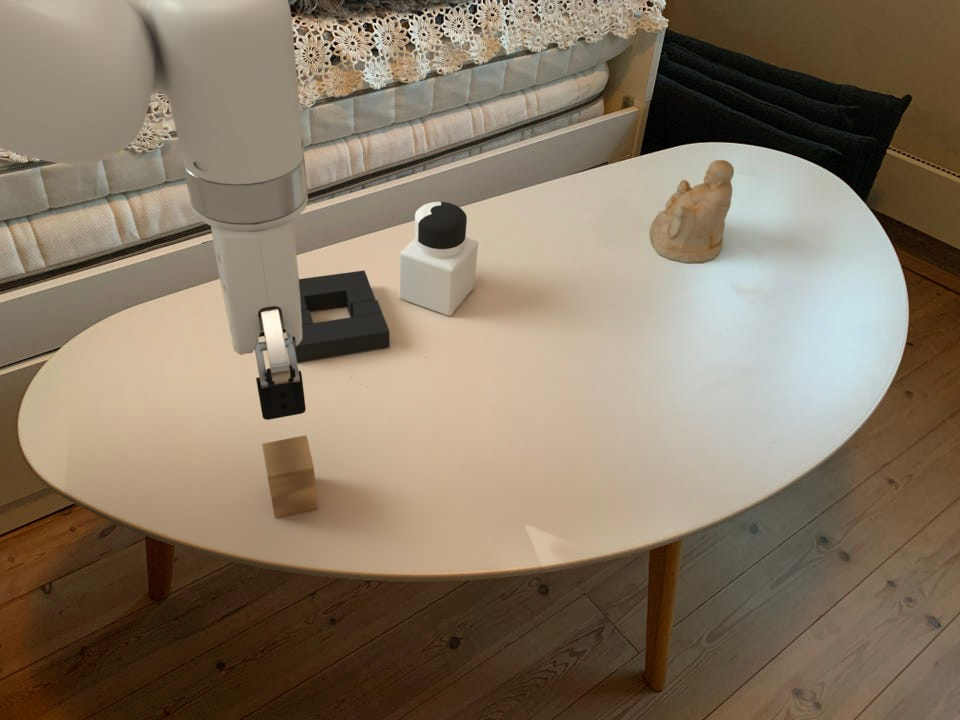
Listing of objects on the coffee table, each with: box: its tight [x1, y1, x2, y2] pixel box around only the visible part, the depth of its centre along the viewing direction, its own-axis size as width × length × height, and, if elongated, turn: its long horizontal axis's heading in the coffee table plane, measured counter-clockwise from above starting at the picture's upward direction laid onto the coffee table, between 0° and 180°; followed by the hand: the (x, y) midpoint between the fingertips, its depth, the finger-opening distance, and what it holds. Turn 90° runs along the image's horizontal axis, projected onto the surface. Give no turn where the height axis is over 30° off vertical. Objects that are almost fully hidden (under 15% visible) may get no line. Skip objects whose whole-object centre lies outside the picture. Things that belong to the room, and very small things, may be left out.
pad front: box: [294, 299, 390, 364], centre depth 89 cm, size 11×6×2 cm, turn 109°
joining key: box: [261, 435, 319, 519], centre depth 71 cm, size 4×4×6 cm
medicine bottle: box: [399, 201, 479, 317], centre depth 94 cm, size 7×7×12 cm
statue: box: [649, 159, 735, 264], centre depth 108 cm, size 12×14×10 cm
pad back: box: [299, 269, 376, 318], centre depth 94 cm, size 11×6×2 cm, turn 109°
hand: (275, 371), depth 62 cm, fingers open, 9 cm apart
